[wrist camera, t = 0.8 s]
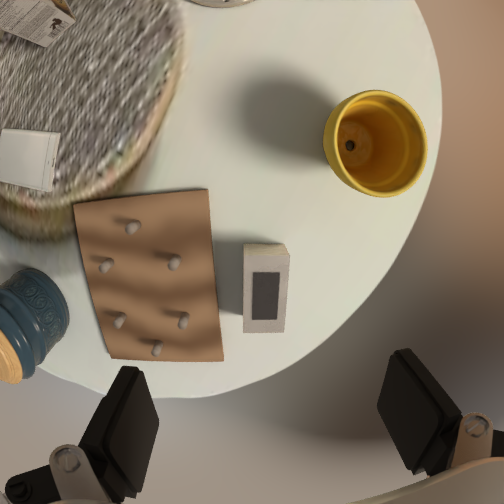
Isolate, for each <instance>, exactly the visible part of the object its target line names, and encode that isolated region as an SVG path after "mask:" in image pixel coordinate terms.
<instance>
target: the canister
mask: <svg viewBox="0 0 504 504" xmlns="http://www.w3.org/2000/svg"><path fill="white" fill-rule="evenodd" d="M68 325H69V311H68V306H67V303H66V301H65V298H64V296H63V294H62V293H61V291H60V290H59V288H58V287H57V285H56V284H55V283H54V282H53V281H52V280H51V279H50V278H49V277H48V276H47V275H45V274H44V273H42V272H40V271H38V270H35V269H26V270H22V271H19V272H17V273H16V274H14V275H13V276H12V277H11V278H10V279H9V280H7V281H6V282H4V283H3V284H2V285H0V380H2V381H5V382H7V383H10V384H18V383H19V382H20V381H21V379H28V378H30V377H31V376H32V375H33V374H34V372H35V366H37V365H39V364H41V363H42V362H43V361H44V359H45V357H46V355H47V354H48V353H49V351H50V350H51V349H52V348H53V347H54V345H55V344H56V343H57V342H59V341H60V340H61V338H62V337H63V336H64V334H65V332H66V330H67V328H68Z"/></svg>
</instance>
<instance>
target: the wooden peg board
mask: <svg viewBox="0 0 504 504" xmlns="http://www.w3.org/2000/svg"><path fill="white" fill-rule="evenodd" d="M73 207H74V214H75V220H76V227H77V232H78V238H79V243H80V249H81V254H82V258H83V263H84V268H85V272H86V276H87V280H88V284H89V288H90V292H91V296H92V300H93V303H94V307H95V310H96V314H97V317H98V320H99V324H100V327H101V330H102V333H103V336H104V339H105V342H106V345H107V348H108V351H109V354H110V356H111V358H112V359H126V360H143V361H171V362H219V361H224V354H223V345H222V337H221V328H220V319H219V310H218V300H217V290H216V280H215V270H214V259H213V247H212V235H211V222H210V209H209V195H208V189H206V190H193V191H180V192H169V193H159V194H149V195H139V196H130V197H122V198H114V199H106V200H98V201H91V202H84V203H77V204H74V205H73Z"/></svg>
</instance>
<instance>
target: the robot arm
mask: <svg viewBox="0 0 504 504" xmlns="http://www.w3.org/2000/svg"><path fill="white" fill-rule="evenodd" d="M191 1H193V2H195V3H198V4H201V5H205V6H209V7H219V8H221V7H234V6H240V5H244V4H247V3H250V2H252V1H255V0H191ZM377 409H378V412H379V414H380V416H381V418H382V419H383V422H384V423H385V426H386V428H387V429H388V432H389V433H390V436H391V438H392V439H393V442H394V443H395V446H396V448H397V450H398V452H399V454H400V456H401V458H402V460H403V462H404V464H405V466H406V468H407V469H408V470H411V471H412V473H413V475H416V474H419V473H421V472H424V471H426V473H427V478H426V479H424V480H422V481H419V482H416V483H414V484H411V485H408V486H405V487H402V488H400V489H397V490H394V491H391V492H388V493H384V494H382V495H378V496H374V497H371V498H367V499H364V500H360V501H355V502H351V503H347V504H504V432H502V431H498V430H493V424H492V422H491V420H490V419H489V418H488V417H487V416H485V415H484V414H481V413H469V414H467V415H465V416H464V417H463V416H462V415H461V411H460V410H459V409H458V407H457V406H456V405H455V403H454V402H453V401H452V399H451V398H450V397H449V396H448V394H447V393H446V392H445V391H444V389H443V388H442V387H441V386H440V384H439V383H438V382H437V381H436V380H435V378H434V377H433V376H432V374H431V373H430V372H429V371H428V370H427V368H426V367H425V366H424V365H423V363H422V362H421V361H420V360H419V359H418V358H417V356H416V355H415V354H414V353H413V352H412V350H411V349H409V348H405V349H401V350H396V351H395V352H394V354H393V355H391V356H390V359H389V364H388V368H387V371H386V375H385V379H384V382H383V386H382V389H381V393H380V396H379V399H378V403H377ZM158 427H159V418H158V415H157V412H156V410H155V407H154V404H153V401H152V398H151V395H150V392H149V389H148V386H147V382H146V379H145V376H144V373H143V371H139V369H138V367H133V366H122V367H121V369H120V371H119V373H118V374H117V376H116V378H115V380H114V382H113V384H112V385H111V387H110V389H109V391H108V393H107V395H106V396H105V397H103V398H102V400H101V402H100V403H99V406H98V407H97V409H96V411H95V413H94V415H93V417H92V419H91V421H90V423H89V425H88V427H87V429H86V431H85V433H84V435H83V437H82V439H81V441H80V443H79V445H78V446H75V445H69V444H66V445H62V446H59V447H57V448H56V449H55V450H54V451H53V452H52V453H51V455H50V458H49V465H46V466H43V467H40V468H37V469H35V470H32V471H28V472H25V473H22V474H19V475H16V476H13V477H11V478H10V479H9V480H8V482H7V483H6V487H5V493H2V492H1V491H0V504H123V501H124V499H125V497H130V498H136V494H137V492H141V491H142V487H143V483H144V479H145V475H146V472H147V468H148V464H149V460H150V456H151V453H152V449H153V445H154V442H155V438H156V434H157V431H158Z"/></svg>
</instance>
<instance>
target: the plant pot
mask: <svg viewBox="0 0 504 504" xmlns="http://www.w3.org/2000/svg"><path fill="white" fill-rule="evenodd" d="M347 141H352V142H353V143H354V149H353V150H351V151H349V150H347V149H346V142H347ZM323 148H324V151H325V154H326V157H327V160H328V162H329V164H330V166H331V168H332V170H333V171H334V173H335V174H336V175H337V176H338V177H339V178H340V179H341V180H342V181H343V182H344V183H345V184H347V185H348V186H350V187H351V188H353V189H355V190H357V191H359V192H362V193H364V194H367V195H370V196H374V197H384V198H385V197H392V196H396V195H399V194H401V193H403V192H405V191H406V190H408V189H409V188H410V187H412V186H413V185H414V184H415V183H416V181H417V180H418V179H419V177H420V175H421V174H422V172H423V169H424V167H425V163H426V159H427V150H428V147H427V137H426V132H425V129H424V126H423V124H422V122H421V120H420V118H419V116H418V115H417V113H416V112H415V110H414V109H413V108H412V107H411V106H410V105H409V104H408V103H407V102H406V101H405V100H403V99H402V98H400V97H399V96H397V95H395V94H393V93H390V92H387V91H382V90H368V91H363V92H360V93H357V94H355V95H353V96H351V97H349V98H347V99H345V100H344V101H342V102H341V103H340V104H339V105H337V106H336V107H335V109H334V110H333V111H332V113H331V114H330V116H329V118H328V120H327V122H326V125H325V129H324V136H323Z"/></svg>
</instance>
